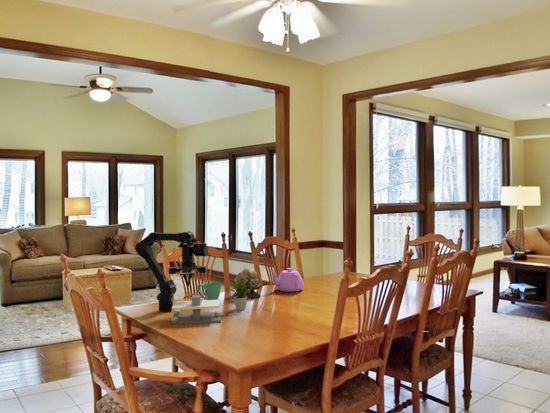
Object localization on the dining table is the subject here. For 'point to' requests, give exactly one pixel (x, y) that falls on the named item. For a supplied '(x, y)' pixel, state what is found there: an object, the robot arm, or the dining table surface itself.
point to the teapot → (288, 280)
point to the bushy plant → (250, 277)
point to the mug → (210, 290)
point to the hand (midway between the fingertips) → (188, 286)
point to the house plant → (240, 294)
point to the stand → (195, 317)
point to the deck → (189, 305)
